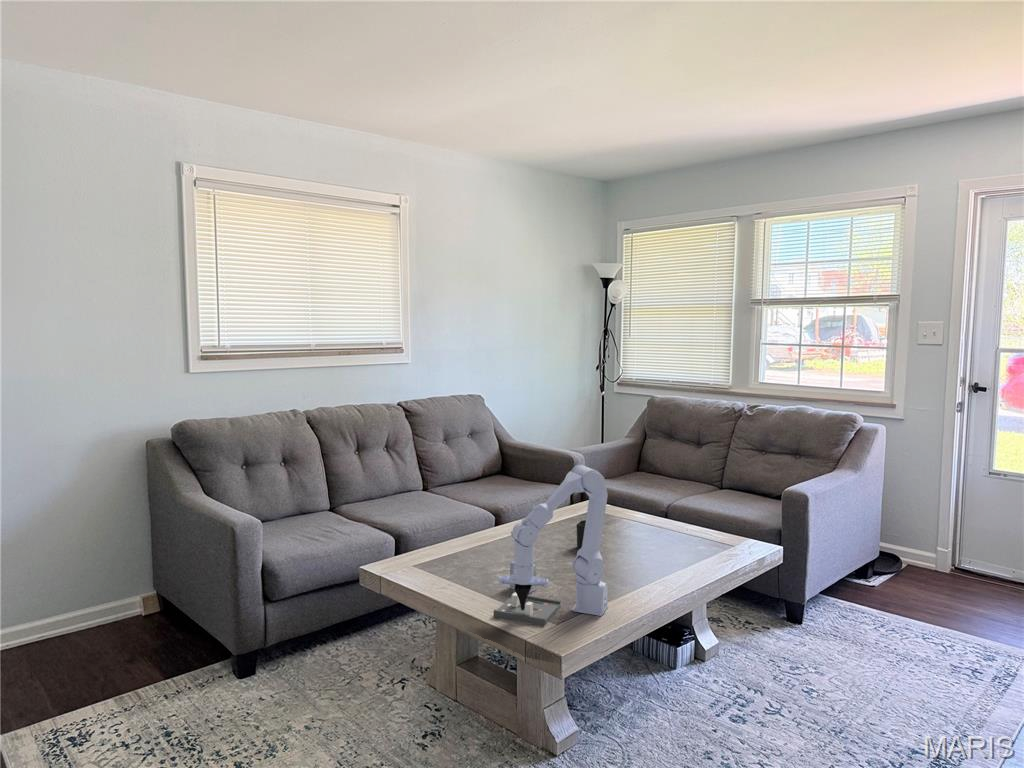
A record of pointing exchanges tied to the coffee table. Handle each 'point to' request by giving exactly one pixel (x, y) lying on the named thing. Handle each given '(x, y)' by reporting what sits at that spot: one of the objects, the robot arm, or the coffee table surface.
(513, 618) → the breaker panel
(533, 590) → the medicine box
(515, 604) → the block
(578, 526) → the pen holder
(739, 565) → the coffee table surface
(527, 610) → the block
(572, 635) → the coffee table surface
